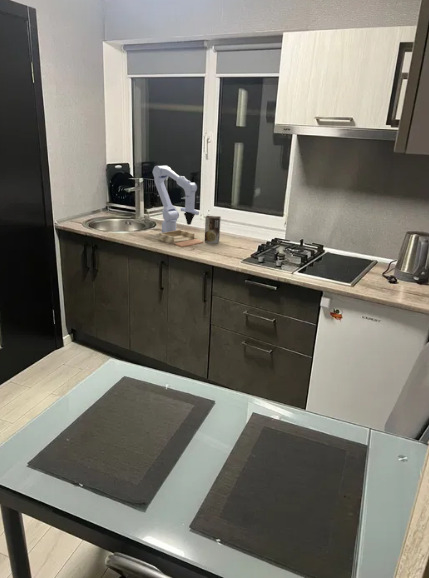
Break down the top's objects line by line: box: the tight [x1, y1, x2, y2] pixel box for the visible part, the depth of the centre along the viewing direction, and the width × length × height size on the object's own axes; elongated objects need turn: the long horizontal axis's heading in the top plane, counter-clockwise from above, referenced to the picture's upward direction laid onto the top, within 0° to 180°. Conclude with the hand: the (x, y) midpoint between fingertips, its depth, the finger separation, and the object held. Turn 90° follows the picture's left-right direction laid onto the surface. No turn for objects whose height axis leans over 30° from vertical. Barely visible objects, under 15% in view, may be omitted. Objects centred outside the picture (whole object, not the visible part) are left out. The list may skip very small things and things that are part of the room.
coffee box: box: [203, 215, 222, 244], centre depth 266 cm, size 9×6×16 cm
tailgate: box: [173, 238, 204, 248], centre depth 260 cm, size 1×18×6 cm
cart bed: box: [158, 229, 196, 245], centre depth 266 cm, size 13×18×4 cm
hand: (189, 224), depth 270 cm, fingers closed
